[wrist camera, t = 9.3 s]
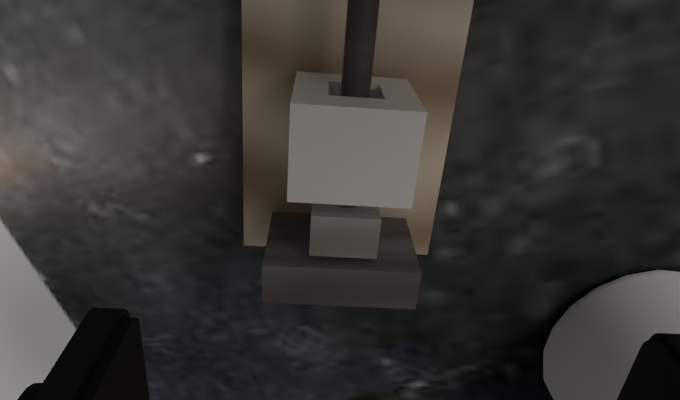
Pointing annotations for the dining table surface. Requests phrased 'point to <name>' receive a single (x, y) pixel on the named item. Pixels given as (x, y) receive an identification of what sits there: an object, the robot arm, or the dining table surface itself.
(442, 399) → the dining table surface
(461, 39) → the small bench vise
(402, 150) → the sleeve
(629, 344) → the can
